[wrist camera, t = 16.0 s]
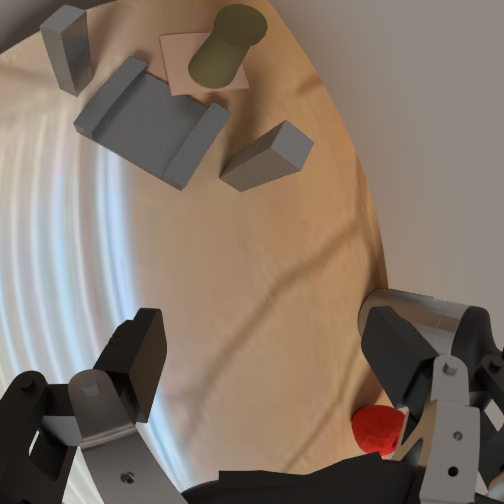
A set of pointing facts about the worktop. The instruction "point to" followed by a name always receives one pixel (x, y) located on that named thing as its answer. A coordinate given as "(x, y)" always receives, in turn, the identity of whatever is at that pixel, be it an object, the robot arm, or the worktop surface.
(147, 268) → the worktop surface
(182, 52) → the tile
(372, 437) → the apple
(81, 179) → the worktop surface
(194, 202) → the worktop surface
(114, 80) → the grey u-shaped stand
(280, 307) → the worktop surface
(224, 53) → the cork
